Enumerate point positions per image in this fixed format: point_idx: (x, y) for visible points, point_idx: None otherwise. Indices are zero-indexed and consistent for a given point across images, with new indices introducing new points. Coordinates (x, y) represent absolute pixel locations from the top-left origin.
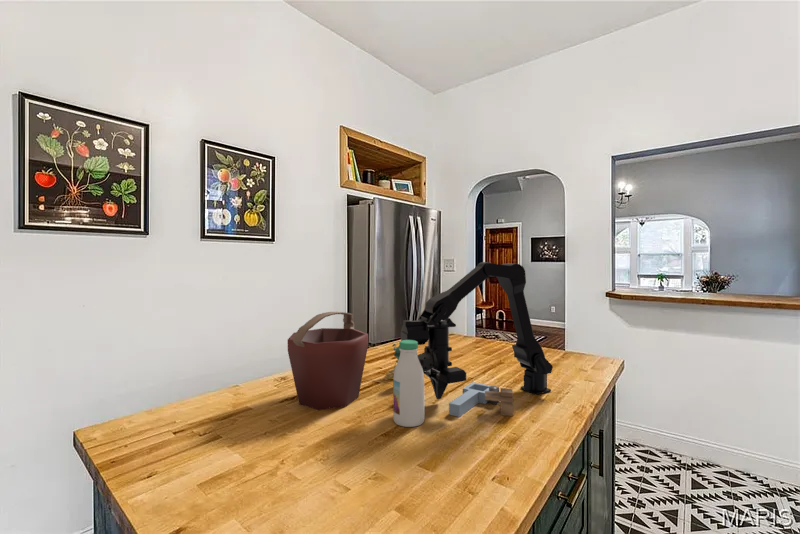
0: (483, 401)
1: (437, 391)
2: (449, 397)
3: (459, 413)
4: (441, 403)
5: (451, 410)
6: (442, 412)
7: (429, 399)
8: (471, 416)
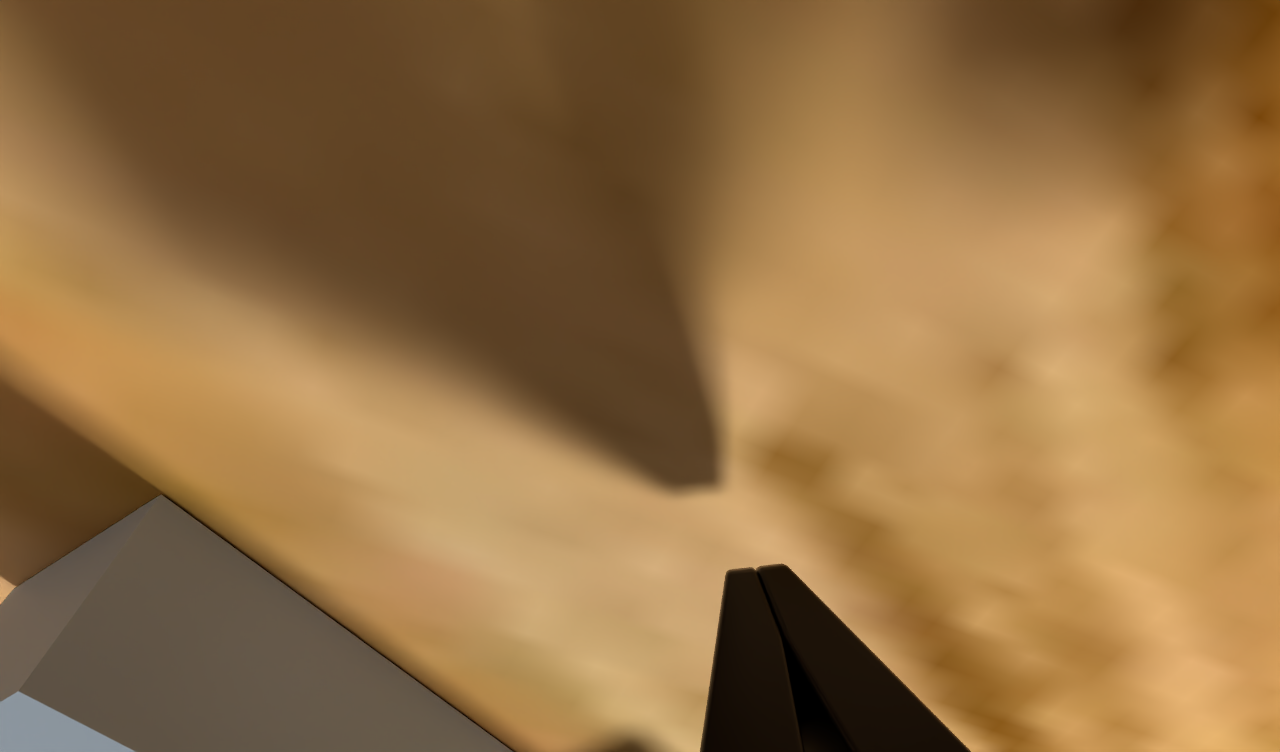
0: None
1: (714, 719)
2: None
3: None
4: (698, 556)
5: (77, 582)
6: (287, 430)
7: (967, 458)
8: None
